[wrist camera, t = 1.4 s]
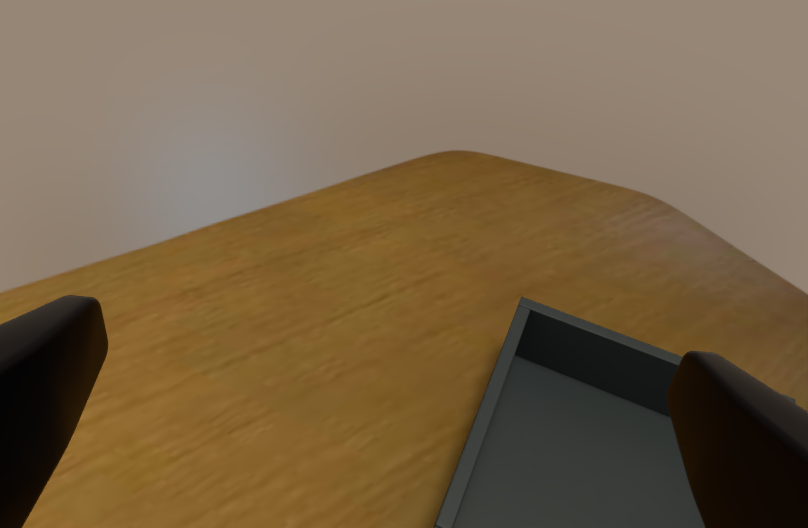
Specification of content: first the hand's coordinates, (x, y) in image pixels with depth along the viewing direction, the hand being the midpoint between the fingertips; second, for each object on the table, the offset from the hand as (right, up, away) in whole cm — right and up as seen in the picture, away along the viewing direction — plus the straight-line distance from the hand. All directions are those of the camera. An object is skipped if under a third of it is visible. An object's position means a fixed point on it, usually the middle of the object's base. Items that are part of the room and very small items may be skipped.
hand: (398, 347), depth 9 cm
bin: (+8, -9, +15) cm, 19 cm away
